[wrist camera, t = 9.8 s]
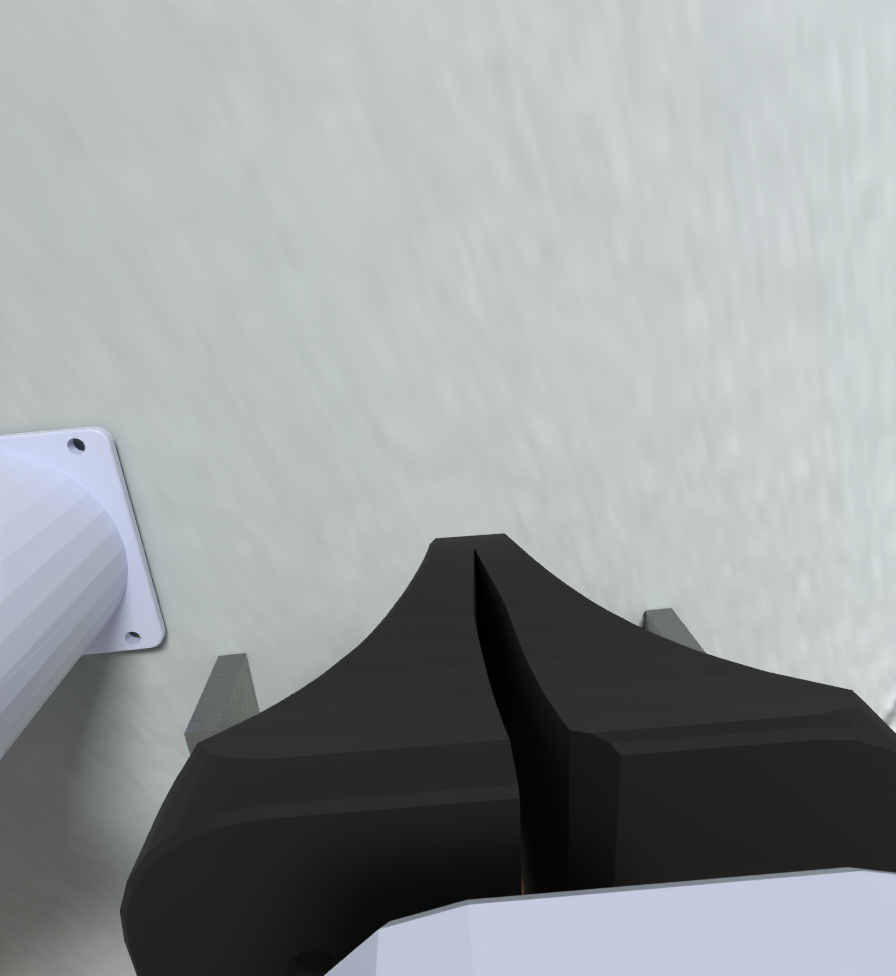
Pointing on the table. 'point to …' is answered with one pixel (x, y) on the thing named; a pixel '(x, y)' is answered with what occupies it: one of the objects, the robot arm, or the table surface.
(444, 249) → the table surface
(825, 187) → the table surface
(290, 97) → the table surface
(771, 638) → the table surface
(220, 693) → the chute bracket
